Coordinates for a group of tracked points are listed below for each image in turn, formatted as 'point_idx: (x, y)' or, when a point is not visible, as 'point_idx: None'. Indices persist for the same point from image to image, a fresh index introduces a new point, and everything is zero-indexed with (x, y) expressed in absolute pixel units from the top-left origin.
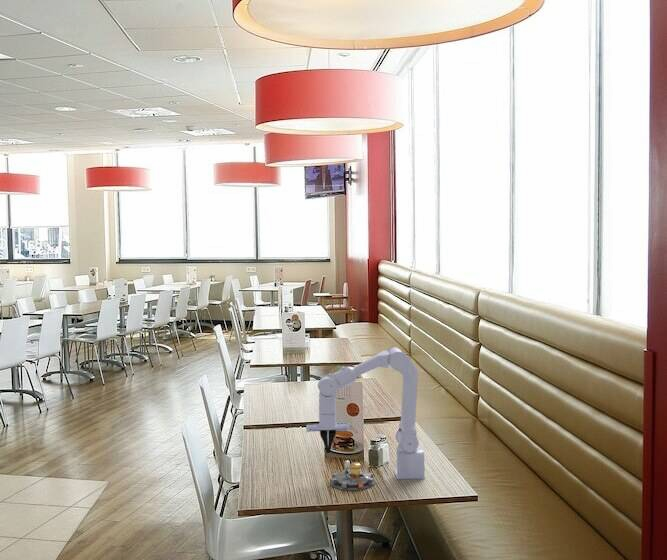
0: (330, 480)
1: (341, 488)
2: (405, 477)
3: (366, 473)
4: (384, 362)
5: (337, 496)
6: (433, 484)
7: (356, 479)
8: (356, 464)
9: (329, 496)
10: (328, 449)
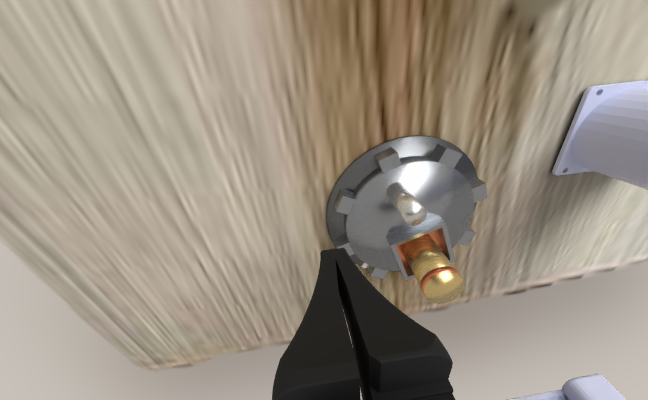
0: (327, 211)
1: (364, 267)
2: (584, 168)
3: (465, 194)
4: None
5: None
6: (628, 201)
7: None
8: (448, 291)
9: None
10: (340, 296)
